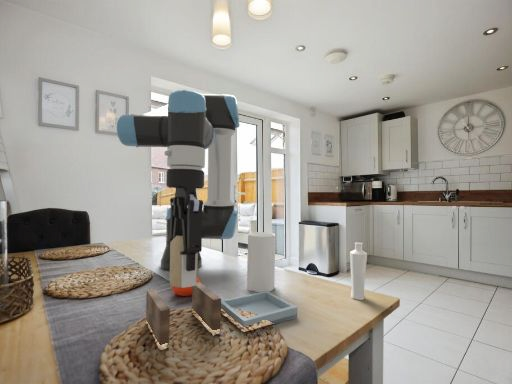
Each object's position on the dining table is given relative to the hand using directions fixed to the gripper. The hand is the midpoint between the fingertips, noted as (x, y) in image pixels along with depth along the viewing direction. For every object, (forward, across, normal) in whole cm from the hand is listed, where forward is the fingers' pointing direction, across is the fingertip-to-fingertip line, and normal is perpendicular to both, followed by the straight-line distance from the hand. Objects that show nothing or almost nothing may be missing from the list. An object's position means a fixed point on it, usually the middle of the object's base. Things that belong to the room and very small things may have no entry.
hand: (183, 281), depth 56 cm
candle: (+1, 0, 0) cm, 1 cm away
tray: (+10, +2, +17) cm, 19 cm away
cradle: (+10, 0, 0) cm, 10 cm away
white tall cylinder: (+10, -12, +28) cm, 32 cm away
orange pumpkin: (+10, -18, +7) cm, 21 cm away
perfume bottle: (+10, +8, +47) cm, 48 cm away
